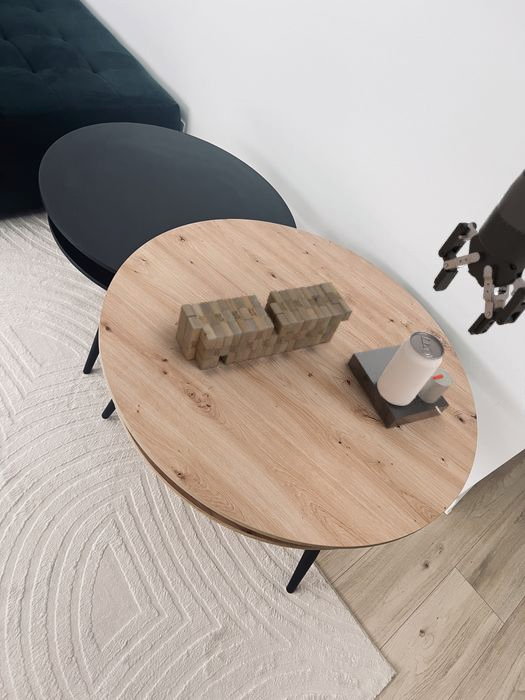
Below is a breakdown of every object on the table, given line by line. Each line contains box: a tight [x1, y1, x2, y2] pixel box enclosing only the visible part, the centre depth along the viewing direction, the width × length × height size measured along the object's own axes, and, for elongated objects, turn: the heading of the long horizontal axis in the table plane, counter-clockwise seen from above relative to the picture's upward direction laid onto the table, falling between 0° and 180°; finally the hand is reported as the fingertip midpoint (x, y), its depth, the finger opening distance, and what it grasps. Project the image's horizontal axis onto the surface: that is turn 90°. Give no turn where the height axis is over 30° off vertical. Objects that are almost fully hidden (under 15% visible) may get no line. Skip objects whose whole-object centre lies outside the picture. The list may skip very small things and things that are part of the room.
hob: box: [347, 344, 450, 430], centre depth 93 cm, size 15×13×3 cm
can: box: [377, 330, 446, 406], centre depth 85 cm, size 6×6×12 cm
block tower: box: [175, 281, 353, 370], centre depth 90 cm, size 8×8×29 cm
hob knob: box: [417, 366, 454, 404], centre depth 89 cm, size 4×4×5 cm
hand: (455, 310), depth 76 cm, fingers open, 8 cm apart
